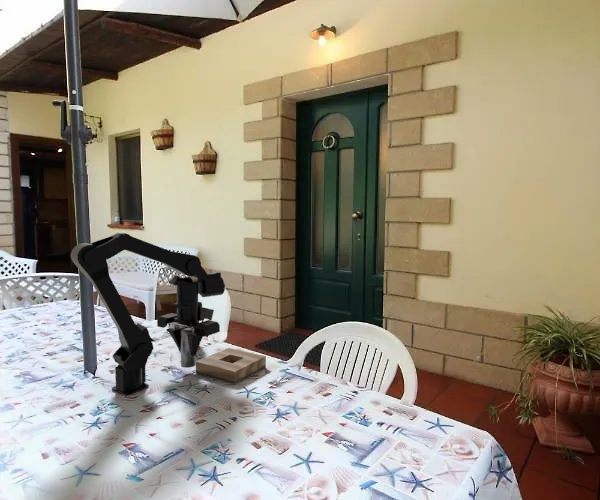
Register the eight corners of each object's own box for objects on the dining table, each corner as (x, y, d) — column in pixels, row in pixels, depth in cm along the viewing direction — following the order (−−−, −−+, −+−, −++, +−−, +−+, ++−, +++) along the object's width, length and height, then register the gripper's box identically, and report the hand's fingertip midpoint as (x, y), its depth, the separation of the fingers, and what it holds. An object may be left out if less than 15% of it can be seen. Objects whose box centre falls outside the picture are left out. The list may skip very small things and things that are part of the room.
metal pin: (188, 368, 113) (187, 332, 112) (177, 365, 115) (177, 330, 114) (198, 364, 116) (198, 329, 115) (188, 361, 118) (188, 327, 117)
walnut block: (235, 384, 108) (235, 371, 108) (195, 373, 115) (195, 361, 115) (265, 367, 120) (265, 356, 120) (228, 358, 127) (228, 347, 127)
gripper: (232, 298, 116) (232, 352, 117) (185, 291, 125) (185, 341, 127) (204, 305, 106) (205, 364, 108) (155, 297, 116) (156, 351, 117)
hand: (188, 354), depth 115 cm, fingers closed on metal pin, 4 cm apart
